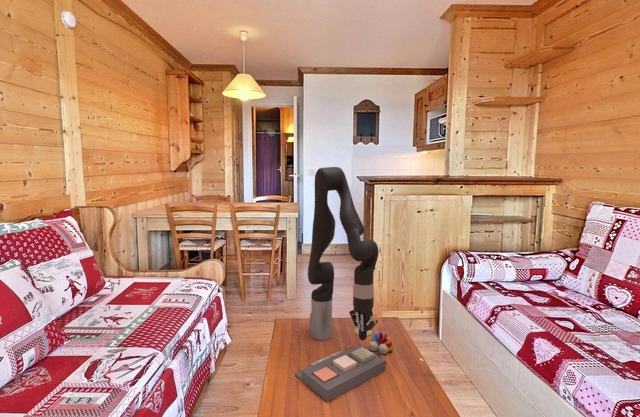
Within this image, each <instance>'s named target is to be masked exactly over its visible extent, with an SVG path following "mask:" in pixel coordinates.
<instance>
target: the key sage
mask: <svg viewBox="0 0 640 417" xmlns="http://www.w3.org/2000/svg"><path fill="white" fill-rule="evenodd" d="M374 354H375V353H374V352H373V351H371V350H368V349H366V348H365V347H364V346H361V348H359V349H357V350H355V351H353V352H351V357H352V358H353V359H355V360H357V361H358V362H360V363H361V364H364V363H366V362H368V361H370V360H372V359H374Z"/></svg>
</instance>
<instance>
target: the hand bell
mask: <svg viewBox="0 0 640 417" xmlns="http://www.w3.org/2000/svg"><path fill="white" fill-rule="evenodd" d="M355 327H356V328H354V330H353V333H354V334H355V335H357V336H359V329H358V327H357V326H355ZM372 334H373V330H372V329H371V330H369V331H367V337H369V336H372Z"/></svg>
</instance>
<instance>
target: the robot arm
mask: <svg viewBox="0 0 640 417" xmlns="http://www.w3.org/2000/svg"><path fill="white" fill-rule="evenodd" d="M331 191H336V193H337V194H338V196H339V199H340V201H339V202H340V204H339V220H340V223H341V226H342V229H343V230H344V232H345V234H346V238H347V239H346V240H347V245H348V246H347V247H348V250H349V251H348V252H349V255H350V256H351V258H352V259H353V260H354V261H356V262H360V264H359V265H356V267H355V268H354V273H353V275H354V278H353V286H352V287H353V290H352V291H353V294H352V306H353V310H350V311H349V312H348V313H349V316H350V318H351V320H352V322H353V325H354V327H358V329H359V335H358V339H359V340H360V341H366V339H367V337H368V336H367V331H369V330H372V329H374V327H375V326H376V325H377V324H378V323H379V322H378V319H375V318H374V313H373V309H374V306H375V302H374V301H375V284H374V280H375V279H374V272H375V269H376V265H377V263H378V258H379V246H378V244H377V243H376V241H374V240H373V239H366V240H361V236H362V235H364V233H365V230H366V229H365V226H364V224H363V222H362V220H361V218H360V216H359V214H358V211H357V209H356V207H355V204H354V200H353V197H352V193H351V190H350V187H349V183H348V180H347V177H346V175H345V172H344V170H343V168H340V167H339V166H328V167H319V168H318V169H317V170H316V172H315V176H314V207H313V208H314V210H313V211H314V212H313V222H312V231H311V233H312V235H311V247H310V249H311V250H310V253H309V254H310V255H309V262H308V267H307V279H308V282H309V284H311V285H314V286H315V285H320V286H319V287H317V288H315V289H313V290H312V291H311V297H310V298H311V299H310V300H311V304H310V305H311V307H310V308H311V310H310V314H309V334H310V337H311V338H313V339H314V340H317V341H327V340H329V339H331V338H332V337H333V294H334V286H335V285H334V283H335V269H334V268H335V267H334V265H333V263H332V262H330V261H321V259H322V257H323V256H322V255H323V254H324V253H325V252H326V250H327V248H329V247H330V244H331V243H332V242H333V240H334V238H335V230H336V219H335V217H334V214H333V212H332V210H331V209H330V206H329V204H328V195H329V192H331Z"/></svg>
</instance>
